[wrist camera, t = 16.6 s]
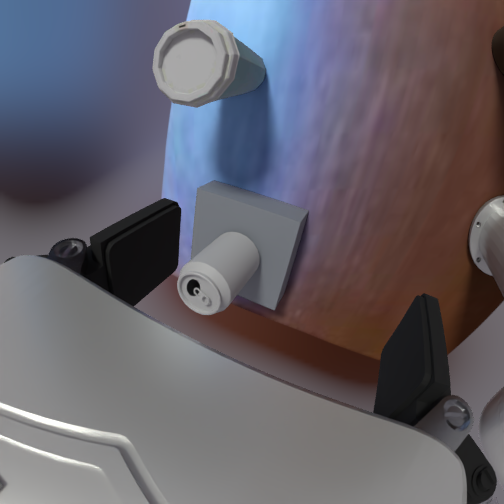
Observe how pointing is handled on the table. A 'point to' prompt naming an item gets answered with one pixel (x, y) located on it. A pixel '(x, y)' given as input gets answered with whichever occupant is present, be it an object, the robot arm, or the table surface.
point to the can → (218, 273)
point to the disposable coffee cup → (204, 64)
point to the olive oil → (499, 48)
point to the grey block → (252, 234)
